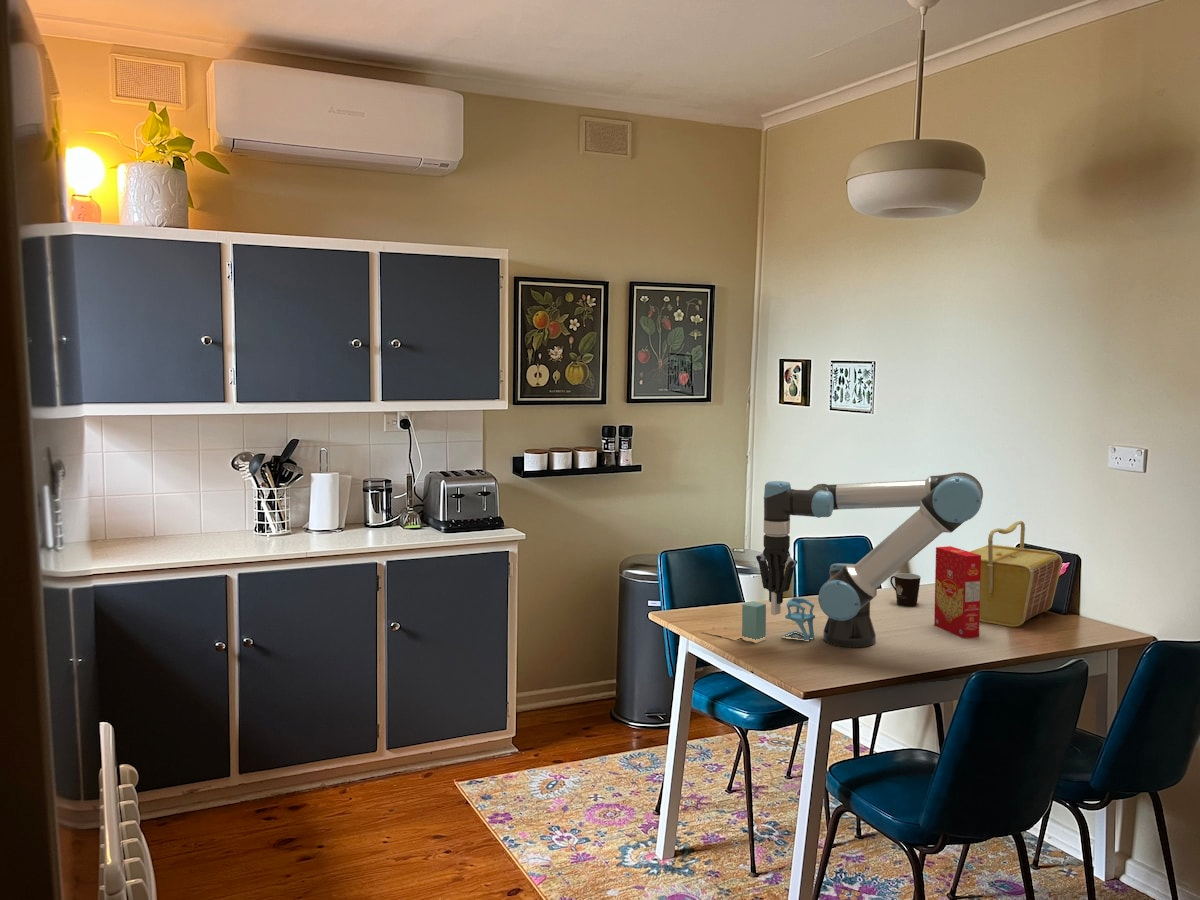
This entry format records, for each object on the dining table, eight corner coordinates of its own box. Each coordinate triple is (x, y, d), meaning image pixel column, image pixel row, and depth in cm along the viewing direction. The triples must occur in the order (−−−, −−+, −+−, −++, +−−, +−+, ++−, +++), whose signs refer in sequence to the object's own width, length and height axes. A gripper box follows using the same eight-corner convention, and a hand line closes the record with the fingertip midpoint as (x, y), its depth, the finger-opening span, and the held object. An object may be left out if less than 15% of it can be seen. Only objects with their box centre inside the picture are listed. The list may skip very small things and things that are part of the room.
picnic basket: (982, 600, 318) (985, 515, 316) (1062, 613, 301) (1065, 523, 298) (947, 617, 298) (949, 526, 295) (1030, 632, 280) (1032, 535, 277)
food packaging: (934, 625, 289) (935, 547, 286) (948, 624, 290) (950, 546, 288) (963, 638, 274) (965, 556, 272) (979, 637, 276) (981, 555, 274)
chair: (805, 644, 271) (805, 604, 270) (781, 638, 276) (781, 599, 275) (818, 638, 276) (819, 599, 275) (794, 633, 282) (795, 594, 281)
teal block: (765, 640, 275) (765, 604, 274) (756, 643, 271) (756, 607, 270) (752, 636, 278) (752, 601, 277) (742, 640, 275) (742, 604, 274)
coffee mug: (923, 607, 310) (924, 578, 309) (898, 607, 310) (898, 578, 309) (912, 599, 322) (912, 571, 321) (887, 599, 322) (888, 571, 321)
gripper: (803, 535, 265) (801, 615, 267) (765, 530, 274) (764, 607, 276) (788, 539, 259) (787, 620, 261) (750, 533, 268) (749, 612, 270)
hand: (775, 613), depth 269 cm, fingers closed
